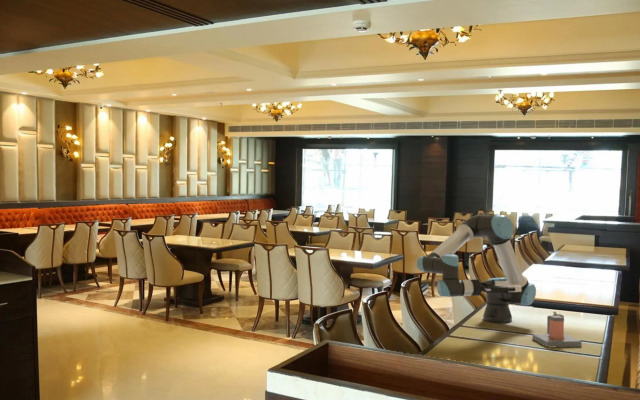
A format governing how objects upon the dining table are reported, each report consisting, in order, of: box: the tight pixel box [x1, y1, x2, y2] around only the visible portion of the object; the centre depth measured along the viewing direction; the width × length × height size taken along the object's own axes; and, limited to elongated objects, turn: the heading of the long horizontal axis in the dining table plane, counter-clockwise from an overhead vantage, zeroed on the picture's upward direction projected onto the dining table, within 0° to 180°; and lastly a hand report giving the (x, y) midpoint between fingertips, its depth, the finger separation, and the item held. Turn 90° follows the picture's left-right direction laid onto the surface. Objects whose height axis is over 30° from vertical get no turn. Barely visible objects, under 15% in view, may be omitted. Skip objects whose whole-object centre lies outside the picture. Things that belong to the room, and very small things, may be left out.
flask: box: [546, 311, 565, 334], centre depth 274 cm, size 9×3×11 cm, turn 109°
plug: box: [548, 315, 565, 339], centre depth 255 cm, size 5×5×12 cm
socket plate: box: [532, 333, 583, 348], centre depth 256 cm, size 14×16×2 cm
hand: (514, 286), depth 262 cm, fingers open, 13 cm apart
